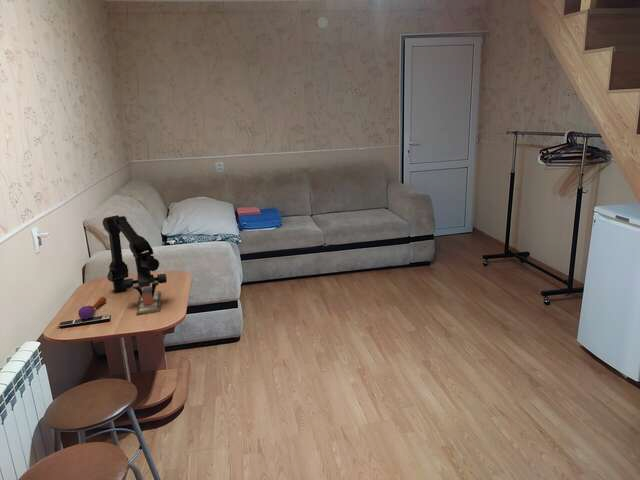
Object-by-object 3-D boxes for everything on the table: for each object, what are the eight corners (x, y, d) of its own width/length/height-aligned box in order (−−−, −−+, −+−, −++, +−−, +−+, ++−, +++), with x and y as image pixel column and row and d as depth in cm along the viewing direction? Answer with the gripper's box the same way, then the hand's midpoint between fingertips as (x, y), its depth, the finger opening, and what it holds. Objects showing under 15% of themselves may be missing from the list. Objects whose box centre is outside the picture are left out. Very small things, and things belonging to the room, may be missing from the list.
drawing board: (139, 296, 230) (139, 293, 230) (160, 292, 233) (160, 290, 233) (136, 315, 208) (136, 313, 208) (160, 311, 211) (159, 309, 211)
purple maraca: (109, 295, 224) (89, 309, 204) (108, 306, 225) (89, 322, 205) (96, 293, 223) (76, 307, 204) (96, 305, 224) (75, 320, 205)
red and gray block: (144, 296, 224) (143, 287, 223) (153, 295, 225) (151, 286, 224) (143, 305, 214) (142, 296, 213) (152, 303, 215) (151, 294, 214)
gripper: (119, 275, 205) (125, 307, 210) (164, 269, 210) (168, 301, 215) (122, 267, 215) (127, 298, 220) (164, 261, 221) (168, 292, 225)
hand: (148, 297), depth 220 cm, fingers closed on red and gray block, 4 cm apart
